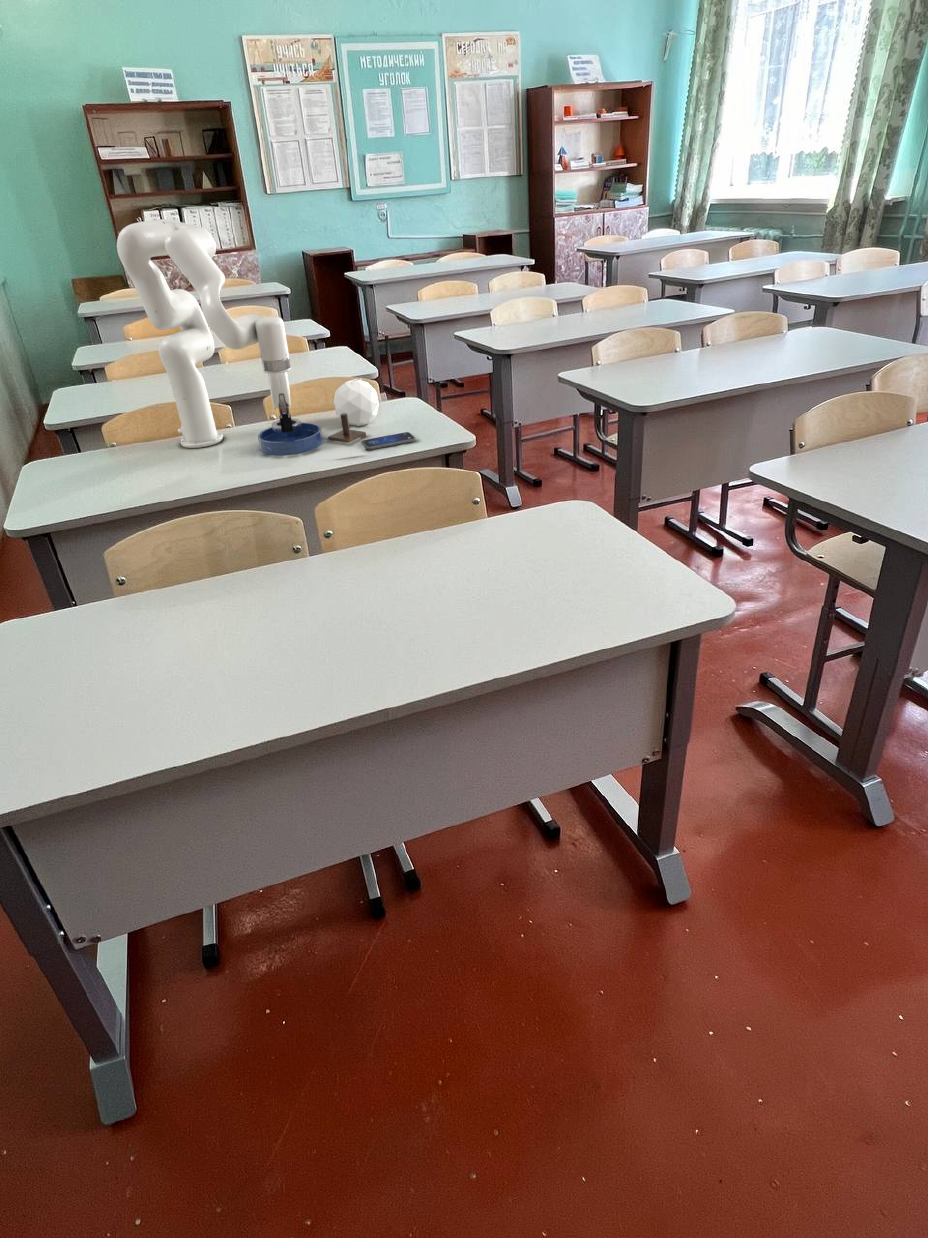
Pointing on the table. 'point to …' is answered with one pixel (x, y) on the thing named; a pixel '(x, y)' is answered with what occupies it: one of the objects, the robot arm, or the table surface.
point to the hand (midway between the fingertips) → (287, 429)
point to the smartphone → (388, 440)
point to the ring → (295, 423)
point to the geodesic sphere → (356, 402)
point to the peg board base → (346, 432)
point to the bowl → (291, 440)
